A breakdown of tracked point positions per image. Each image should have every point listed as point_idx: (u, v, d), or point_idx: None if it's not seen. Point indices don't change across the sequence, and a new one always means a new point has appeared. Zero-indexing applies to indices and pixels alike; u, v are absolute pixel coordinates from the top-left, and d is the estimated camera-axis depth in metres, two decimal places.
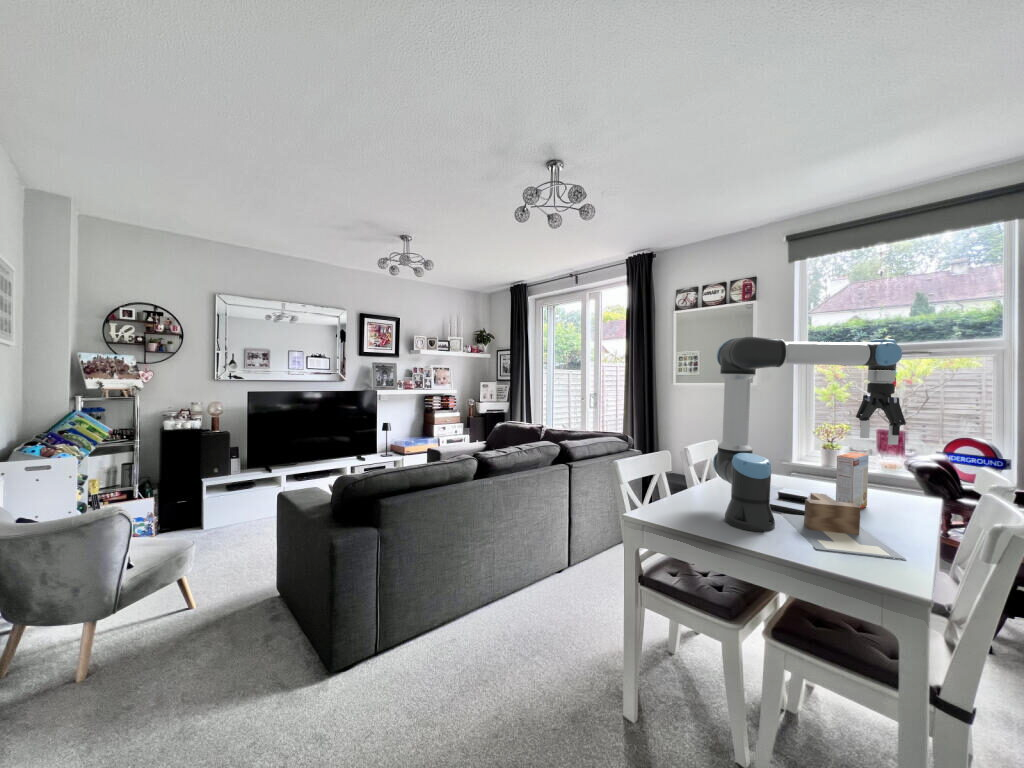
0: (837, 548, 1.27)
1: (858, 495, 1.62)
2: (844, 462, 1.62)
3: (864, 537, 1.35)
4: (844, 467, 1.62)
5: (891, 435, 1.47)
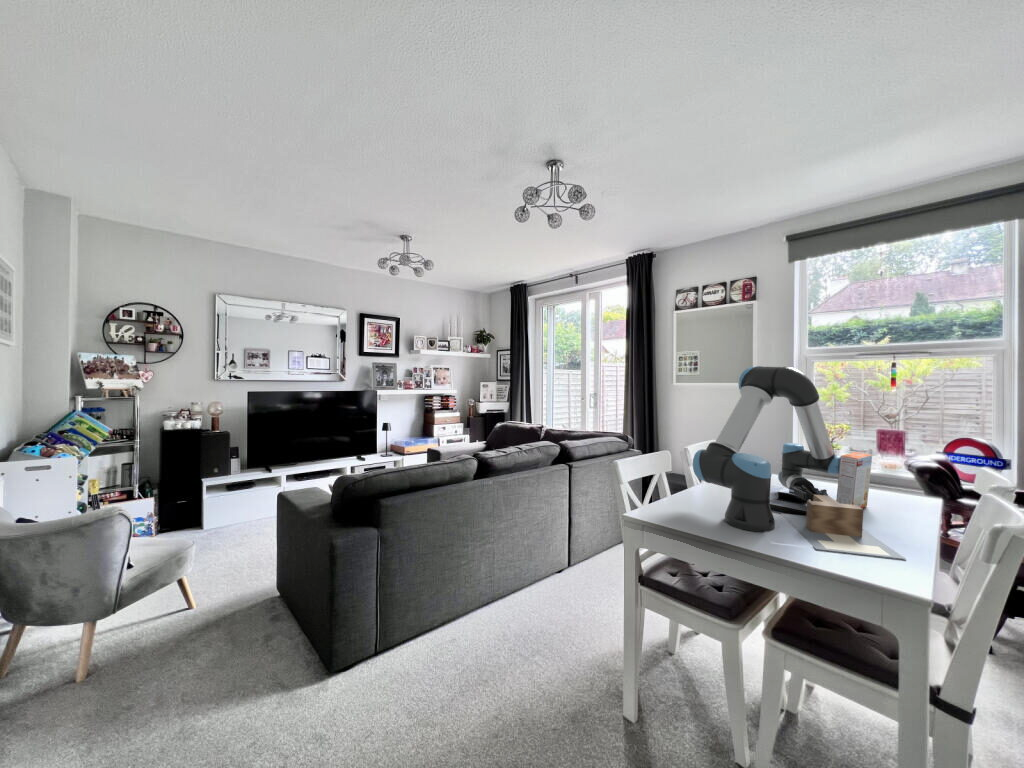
0: (837, 548, 1.27)
1: (859, 495, 1.62)
2: (848, 462, 1.61)
3: (864, 537, 1.35)
4: (847, 467, 1.61)
5: None
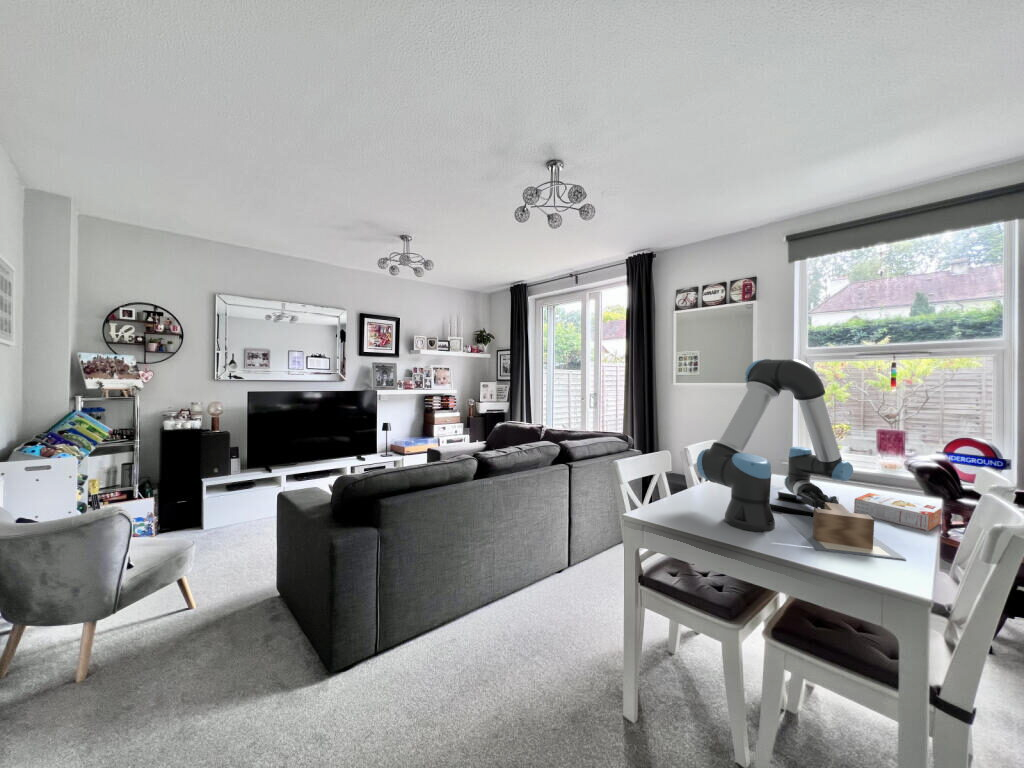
0: (837, 548, 1.27)
1: None
2: (920, 520, 1.44)
3: None
4: (912, 518, 1.46)
5: None
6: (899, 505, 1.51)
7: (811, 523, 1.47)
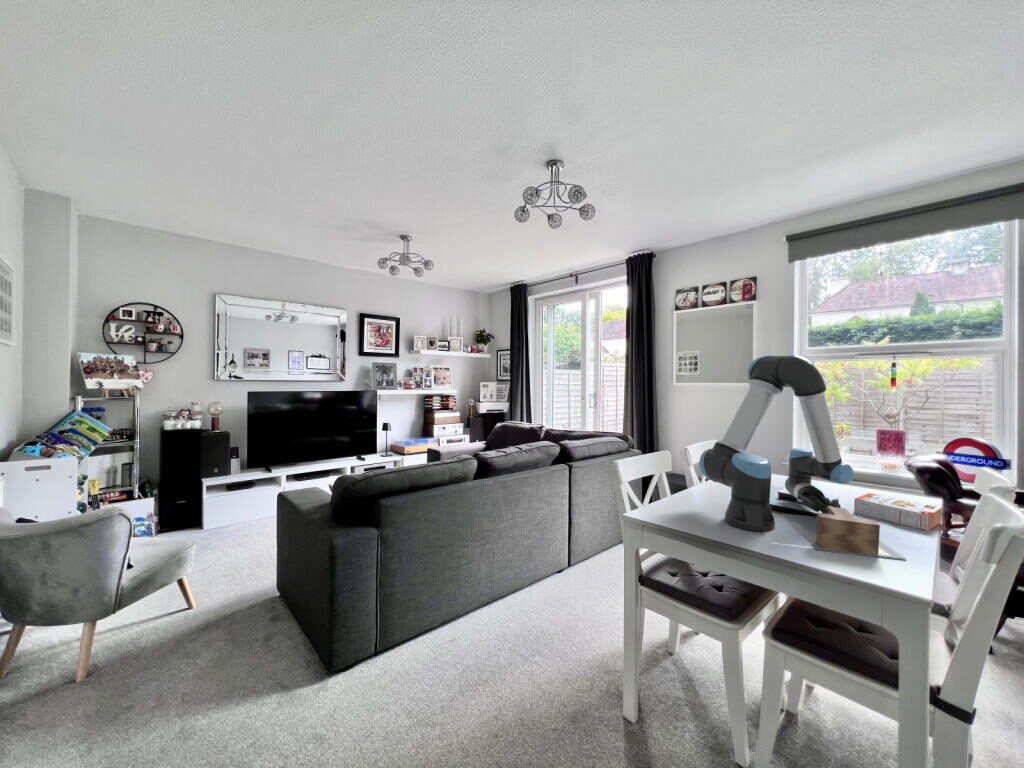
0: None
1: None
2: (920, 520, 1.44)
3: None
4: (912, 518, 1.46)
5: None
6: (899, 505, 1.51)
7: (811, 523, 1.47)
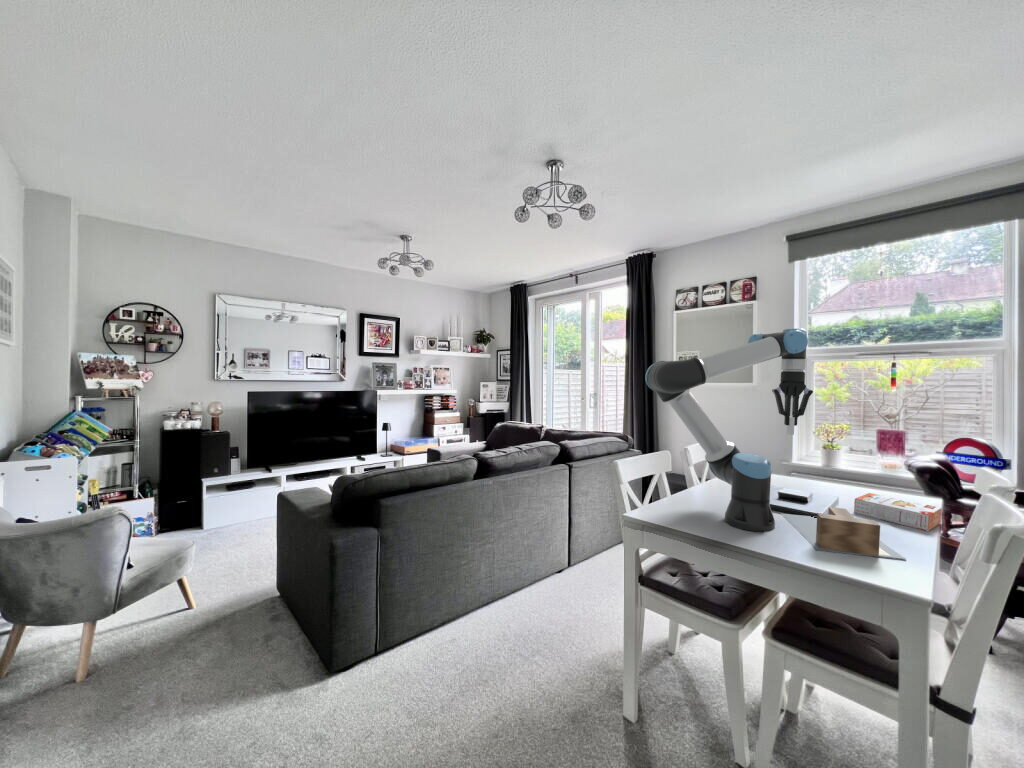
0: None
1: None
2: (920, 520, 1.44)
3: None
4: (912, 518, 1.46)
5: None
6: (899, 505, 1.51)
7: (811, 523, 1.47)
